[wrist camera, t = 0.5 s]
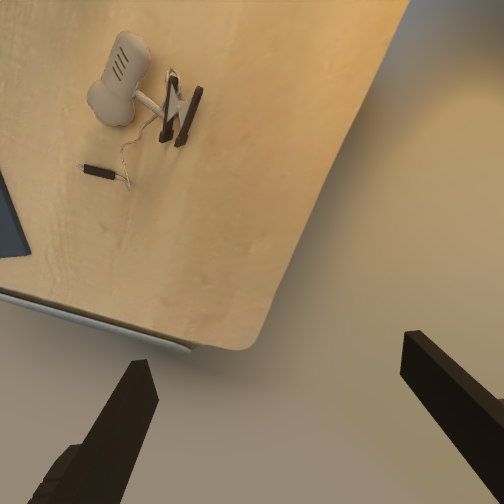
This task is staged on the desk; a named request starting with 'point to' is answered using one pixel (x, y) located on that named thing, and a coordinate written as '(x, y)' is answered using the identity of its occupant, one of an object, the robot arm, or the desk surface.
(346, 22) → the desk surface
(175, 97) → the clip-on lamp
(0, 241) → the mat
